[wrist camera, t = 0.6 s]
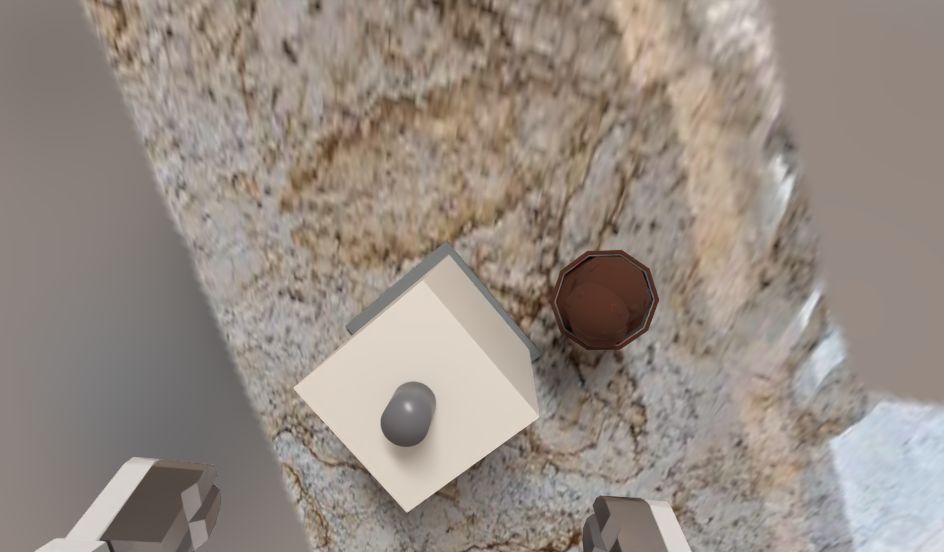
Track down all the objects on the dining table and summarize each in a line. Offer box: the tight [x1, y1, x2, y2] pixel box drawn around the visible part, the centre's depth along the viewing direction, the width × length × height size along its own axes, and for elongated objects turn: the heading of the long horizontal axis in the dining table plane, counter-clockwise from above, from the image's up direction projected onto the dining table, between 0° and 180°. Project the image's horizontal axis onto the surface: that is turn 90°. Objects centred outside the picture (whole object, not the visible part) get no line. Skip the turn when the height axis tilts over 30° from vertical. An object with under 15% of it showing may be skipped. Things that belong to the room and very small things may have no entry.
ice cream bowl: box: [550, 250, 659, 350], centre depth 48 cm, size 11×11×15 cm
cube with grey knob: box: [294, 255, 539, 512], centre depth 47 cm, size 16×16×22 cm
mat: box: [345, 241, 541, 362], centre depth 58 cm, size 19×18×1 cm
